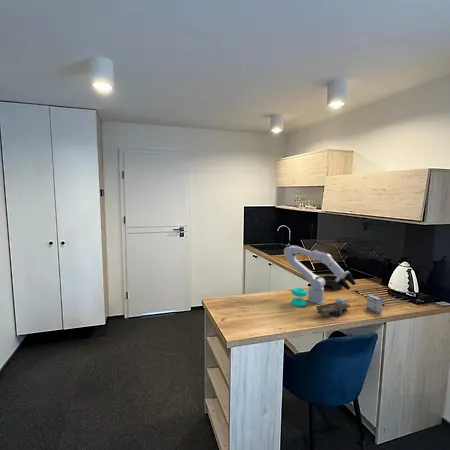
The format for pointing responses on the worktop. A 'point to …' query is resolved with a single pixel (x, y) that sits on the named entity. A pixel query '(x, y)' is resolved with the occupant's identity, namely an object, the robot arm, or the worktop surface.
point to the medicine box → (374, 303)
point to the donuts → (299, 301)
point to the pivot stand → (337, 313)
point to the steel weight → (341, 301)
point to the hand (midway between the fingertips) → (351, 286)
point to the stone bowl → (331, 281)
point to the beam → (329, 308)
